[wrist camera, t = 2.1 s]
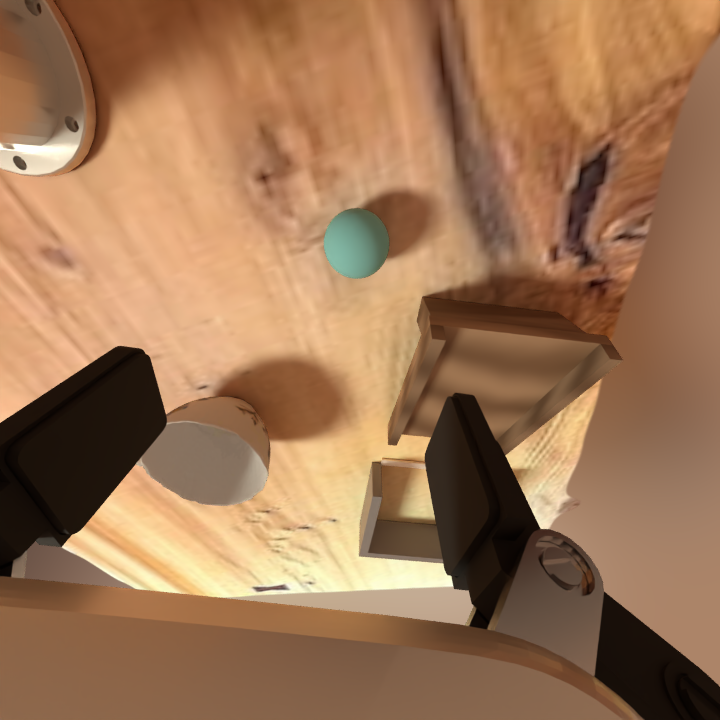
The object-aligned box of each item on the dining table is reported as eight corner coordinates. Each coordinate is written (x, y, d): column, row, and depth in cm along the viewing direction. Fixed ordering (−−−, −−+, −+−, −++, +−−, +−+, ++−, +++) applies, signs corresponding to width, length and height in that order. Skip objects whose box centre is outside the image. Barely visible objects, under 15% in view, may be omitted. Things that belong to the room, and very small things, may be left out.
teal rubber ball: (329, 201, 23) (320, 207, 19) (392, 209, 23) (397, 217, 19) (326, 265, 26) (318, 282, 22) (382, 272, 26) (385, 290, 22)
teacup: (269, 367, 32) (241, 418, 25) (296, 446, 38) (281, 503, 32) (141, 379, 33) (82, 431, 26) (189, 453, 40) (152, 510, 33)
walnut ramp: (418, 290, 27) (434, 329, 20) (565, 308, 27) (629, 351, 21) (386, 429, 36) (390, 487, 30) (496, 440, 37) (525, 499, 30)
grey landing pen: (373, 457, 39) (373, 491, 35) (489, 468, 40) (504, 503, 35) (359, 522, 48) (358, 556, 43) (456, 530, 48) (464, 565, 44)
